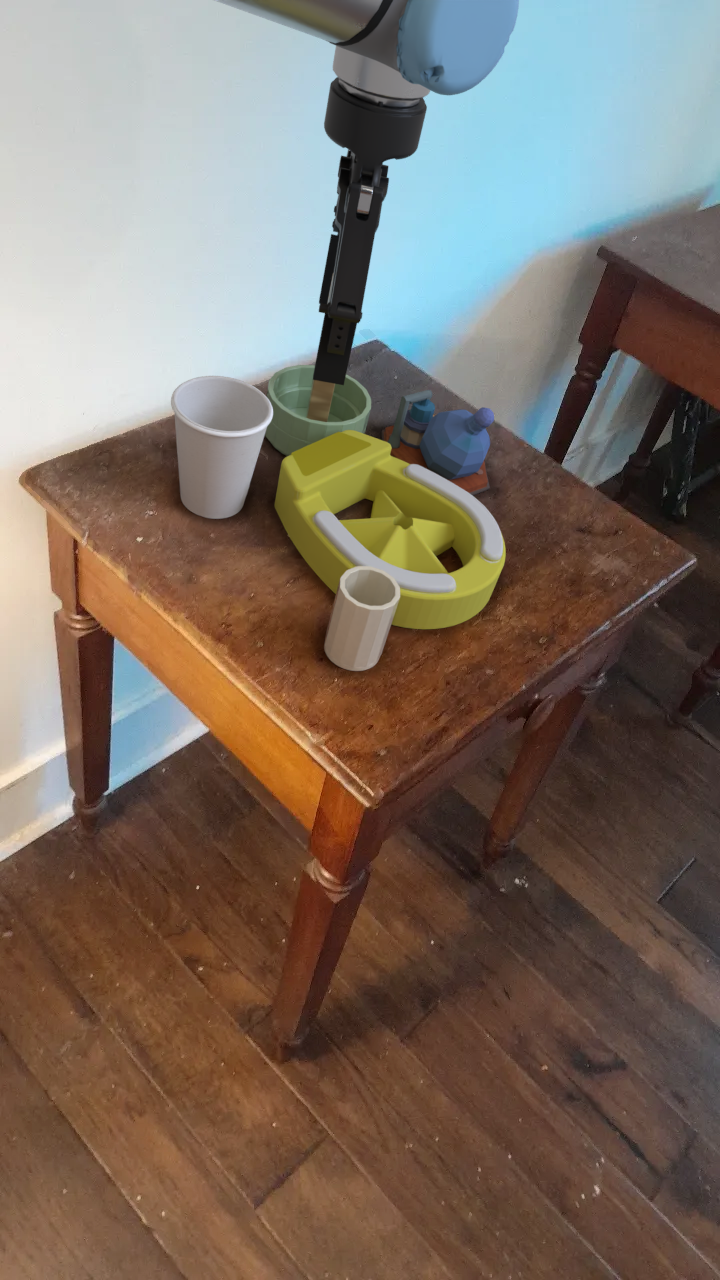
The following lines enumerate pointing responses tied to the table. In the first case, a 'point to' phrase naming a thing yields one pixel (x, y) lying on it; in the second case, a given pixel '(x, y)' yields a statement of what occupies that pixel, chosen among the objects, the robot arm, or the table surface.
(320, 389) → the stick
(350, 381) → the bowl
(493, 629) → the table surface
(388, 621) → the holder
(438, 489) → the toy steering wheel
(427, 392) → the model
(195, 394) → the dixie cup
